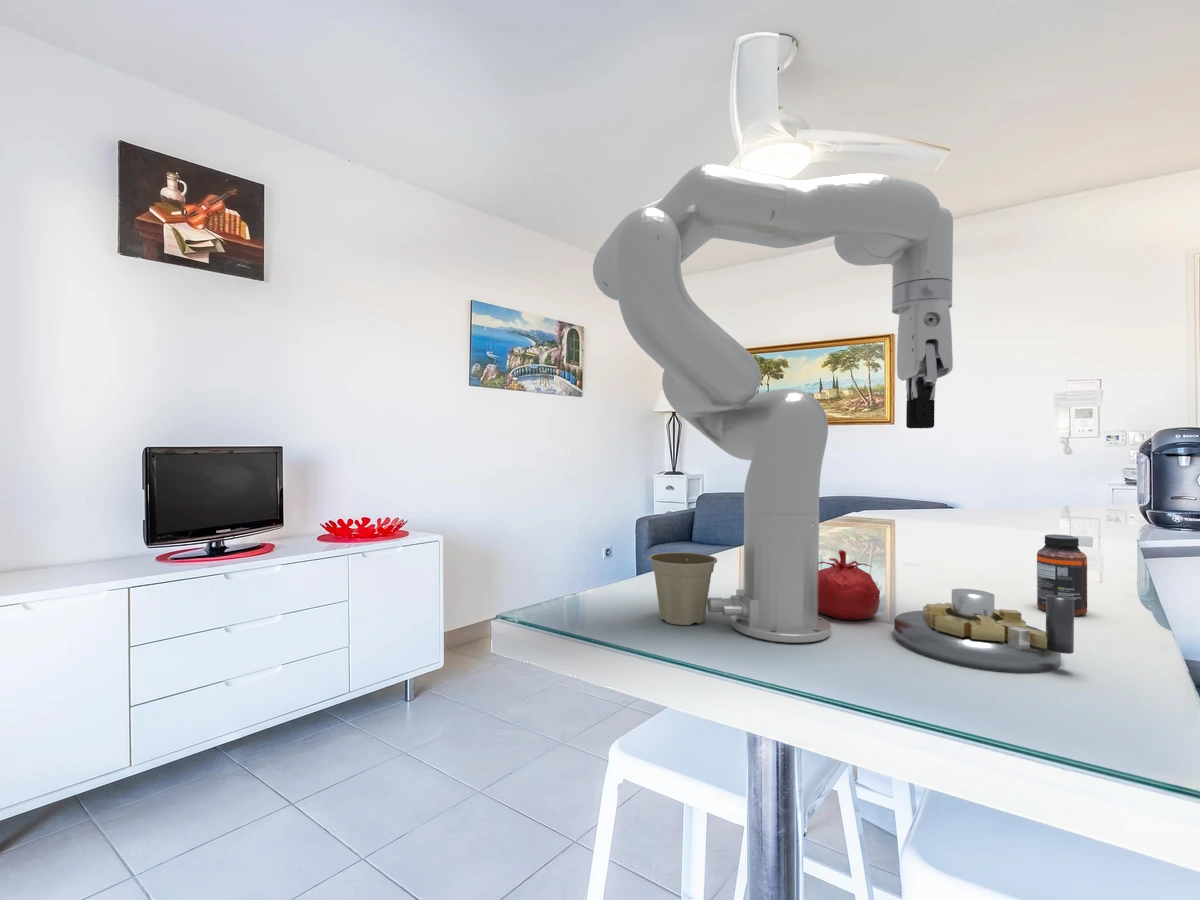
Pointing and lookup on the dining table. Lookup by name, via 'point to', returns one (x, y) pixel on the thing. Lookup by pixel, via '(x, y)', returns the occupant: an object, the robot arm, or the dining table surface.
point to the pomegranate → (847, 591)
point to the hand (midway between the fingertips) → (920, 427)
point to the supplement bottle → (1062, 571)
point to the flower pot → (682, 585)
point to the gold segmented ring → (1010, 624)
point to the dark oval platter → (969, 651)
